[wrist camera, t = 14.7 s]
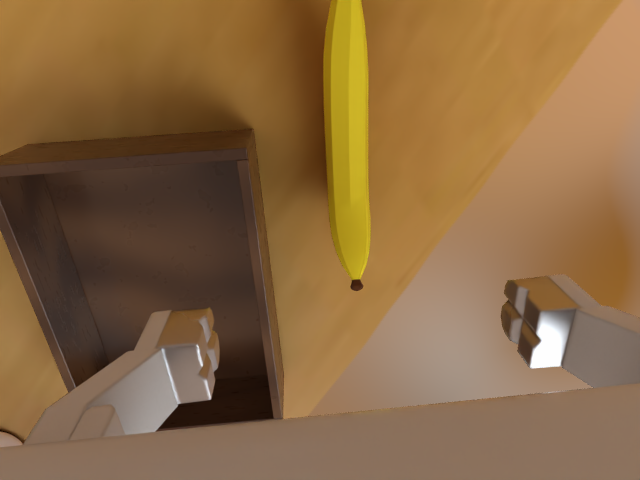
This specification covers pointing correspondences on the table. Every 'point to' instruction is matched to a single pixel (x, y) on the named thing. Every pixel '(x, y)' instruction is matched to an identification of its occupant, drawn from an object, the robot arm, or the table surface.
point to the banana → (347, 135)
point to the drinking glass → (8, 440)
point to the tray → (149, 256)
